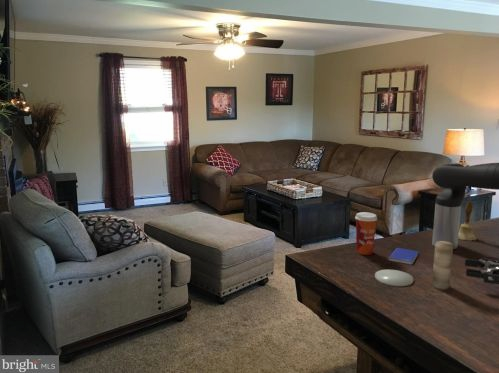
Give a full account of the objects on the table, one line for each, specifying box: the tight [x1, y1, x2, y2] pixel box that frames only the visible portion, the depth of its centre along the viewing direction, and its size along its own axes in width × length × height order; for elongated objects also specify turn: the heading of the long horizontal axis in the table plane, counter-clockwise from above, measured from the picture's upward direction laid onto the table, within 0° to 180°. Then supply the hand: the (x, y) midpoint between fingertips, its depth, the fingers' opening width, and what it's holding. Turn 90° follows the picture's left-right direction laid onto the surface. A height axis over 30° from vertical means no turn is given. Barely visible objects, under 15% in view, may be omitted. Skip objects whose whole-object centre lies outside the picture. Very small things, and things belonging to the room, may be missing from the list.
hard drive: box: [388, 247, 419, 265], centre depth 157 cm, size 2×8×12 cm
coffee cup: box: [354, 211, 378, 256], centre depth 160 cm, size 8×8×15 cm
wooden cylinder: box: [431, 241, 454, 291], centre depth 131 cm, size 5×5×14 cm
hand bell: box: [458, 200, 477, 242], centre depth 177 cm, size 8×8×16 cm
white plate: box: [374, 269, 414, 287], centre depth 138 cm, size 12×12×1 cm
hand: (465, 267), depth 128 cm, fingers open, 8 cm apart
